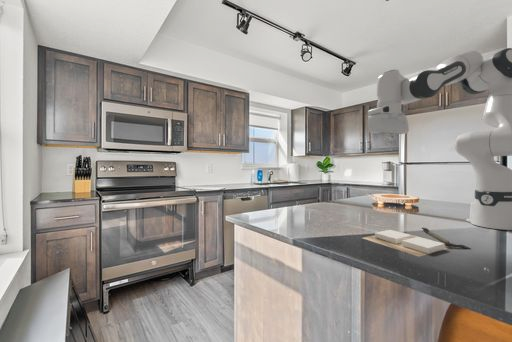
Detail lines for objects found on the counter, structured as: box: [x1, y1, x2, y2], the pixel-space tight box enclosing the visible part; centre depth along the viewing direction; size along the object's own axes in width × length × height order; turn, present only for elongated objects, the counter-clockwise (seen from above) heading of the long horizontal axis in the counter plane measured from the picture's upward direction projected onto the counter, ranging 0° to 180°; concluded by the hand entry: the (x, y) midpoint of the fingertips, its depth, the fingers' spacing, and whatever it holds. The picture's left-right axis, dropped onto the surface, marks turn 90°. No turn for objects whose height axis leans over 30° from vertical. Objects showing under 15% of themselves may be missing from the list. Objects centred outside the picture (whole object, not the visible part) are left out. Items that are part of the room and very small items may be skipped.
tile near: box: [402, 236, 446, 255], centre depth 76 cm, size 2×8×8 cm
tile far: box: [374, 229, 412, 244], centre depth 85 cm, size 2×8×8 cm
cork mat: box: [362, 230, 454, 258], centre depth 82 cm, size 18×20×1 cm
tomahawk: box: [421, 227, 472, 250], centre depth 84 cm, size 21×7×1 cm, turn 166°
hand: (389, 144), depth 102 cm, fingers closed
